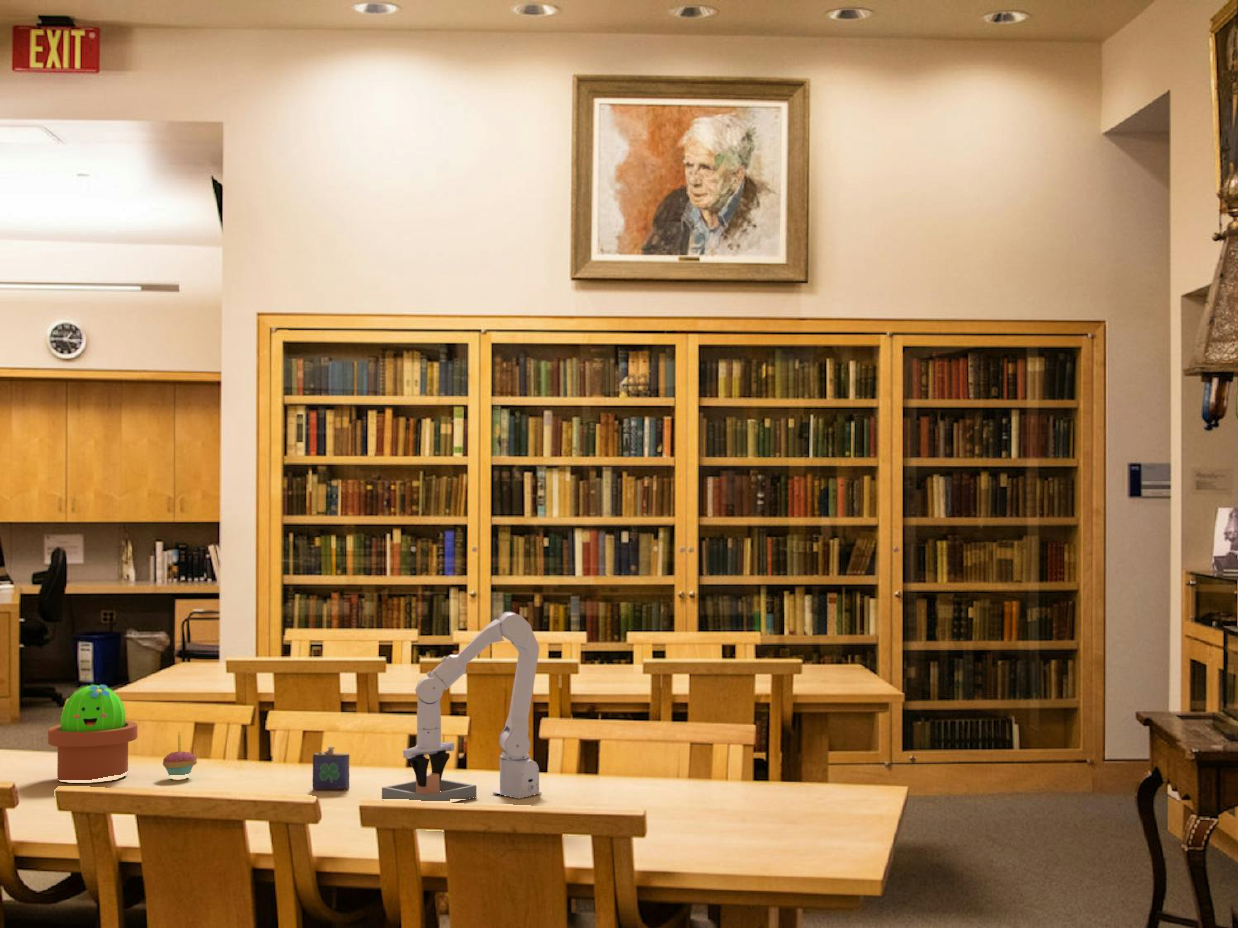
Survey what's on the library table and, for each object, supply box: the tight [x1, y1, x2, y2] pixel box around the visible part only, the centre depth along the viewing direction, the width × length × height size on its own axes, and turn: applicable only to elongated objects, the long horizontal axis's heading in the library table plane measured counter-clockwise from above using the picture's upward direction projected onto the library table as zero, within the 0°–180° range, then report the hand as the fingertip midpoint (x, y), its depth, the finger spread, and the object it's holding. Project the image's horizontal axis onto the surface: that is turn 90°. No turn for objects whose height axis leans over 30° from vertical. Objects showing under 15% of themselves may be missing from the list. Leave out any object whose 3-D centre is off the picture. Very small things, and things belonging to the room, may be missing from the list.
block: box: [415, 771, 440, 795], centre depth 331 cm, size 4×4×5 cm
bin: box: [381, 778, 477, 801], centre depth 331 cm, size 16×16×3 cm
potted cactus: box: [47, 684, 138, 781], centre depth 362 cm, size 22×22×25 cm
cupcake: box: [162, 731, 198, 776], centre depth 360 cm, size 9×8×12 cm
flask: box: [312, 746, 350, 792], centre depth 344 cm, size 9×3×11 cm, turn 88°
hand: (429, 784), depth 331 cm, fingers closed on block, 4 cm apart
